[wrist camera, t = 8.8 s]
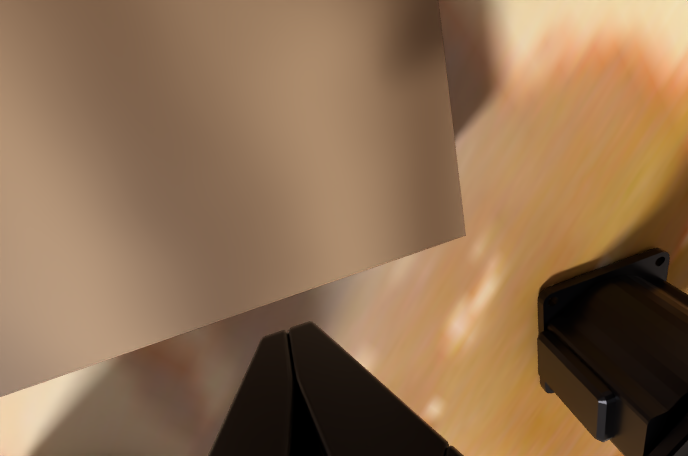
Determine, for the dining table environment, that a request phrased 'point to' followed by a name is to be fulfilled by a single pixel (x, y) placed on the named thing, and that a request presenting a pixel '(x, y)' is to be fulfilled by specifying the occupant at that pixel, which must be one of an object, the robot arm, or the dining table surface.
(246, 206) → the brown wooden block
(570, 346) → the robot arm
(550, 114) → the dining table surface
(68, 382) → the dining table surface
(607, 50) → the dining table surface
